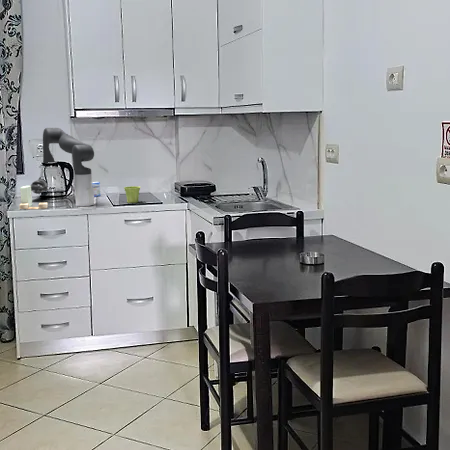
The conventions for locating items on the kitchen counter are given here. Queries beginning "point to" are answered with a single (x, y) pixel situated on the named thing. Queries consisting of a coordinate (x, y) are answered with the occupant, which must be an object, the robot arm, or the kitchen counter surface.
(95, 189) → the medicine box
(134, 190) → the plant pot
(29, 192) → the tall mint green pillar
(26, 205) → the slot board
